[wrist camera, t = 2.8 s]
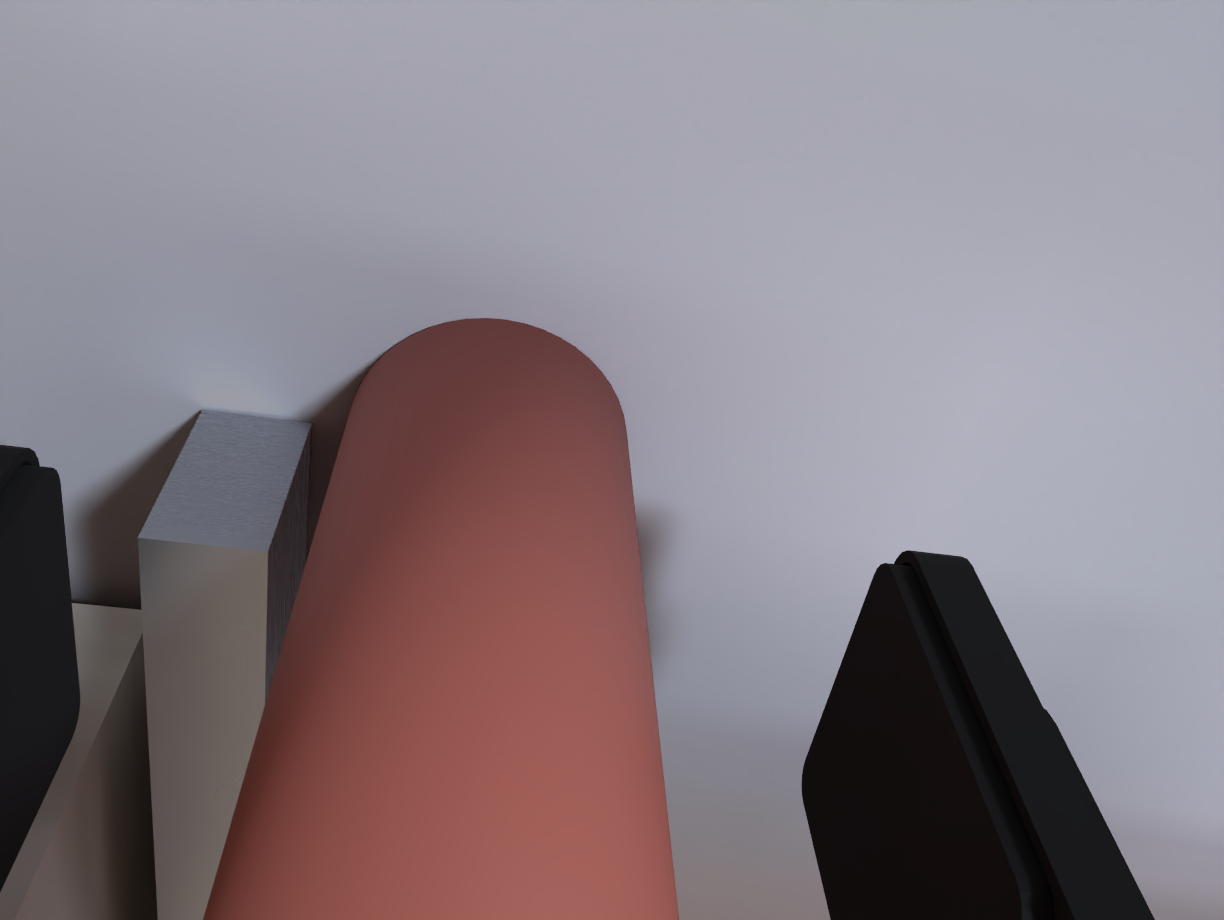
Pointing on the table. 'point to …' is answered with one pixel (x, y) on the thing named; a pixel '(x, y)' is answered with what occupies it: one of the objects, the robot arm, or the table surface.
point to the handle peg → (464, 659)
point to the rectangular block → (215, 630)
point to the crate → (95, 791)
